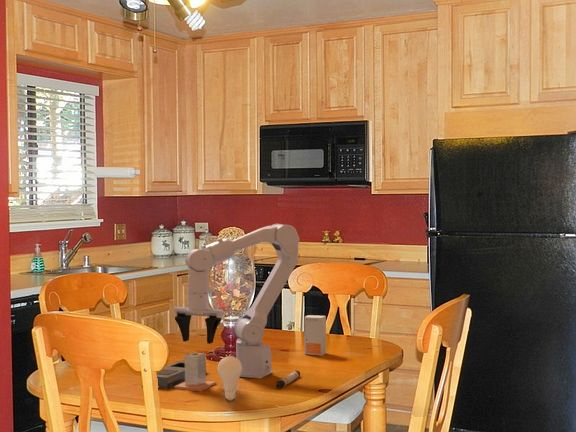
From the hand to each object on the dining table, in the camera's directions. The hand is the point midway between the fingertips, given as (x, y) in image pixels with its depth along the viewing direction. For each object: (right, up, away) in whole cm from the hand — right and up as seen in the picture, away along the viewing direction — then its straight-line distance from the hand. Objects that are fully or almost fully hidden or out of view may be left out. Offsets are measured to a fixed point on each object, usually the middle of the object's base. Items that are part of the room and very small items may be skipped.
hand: (198, 341), depth 217 cm
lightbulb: (+11, -11, -22) cm, 27 cm away
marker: (+25, -11, -5) cm, 27 cm away
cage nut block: (0, -10, -8) cm, 13 cm away
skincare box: (+34, -9, +31) cm, 47 cm away
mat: (0, -11, -7) cm, 13 cm away
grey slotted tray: (-6, -10, +1) cm, 12 cm away
